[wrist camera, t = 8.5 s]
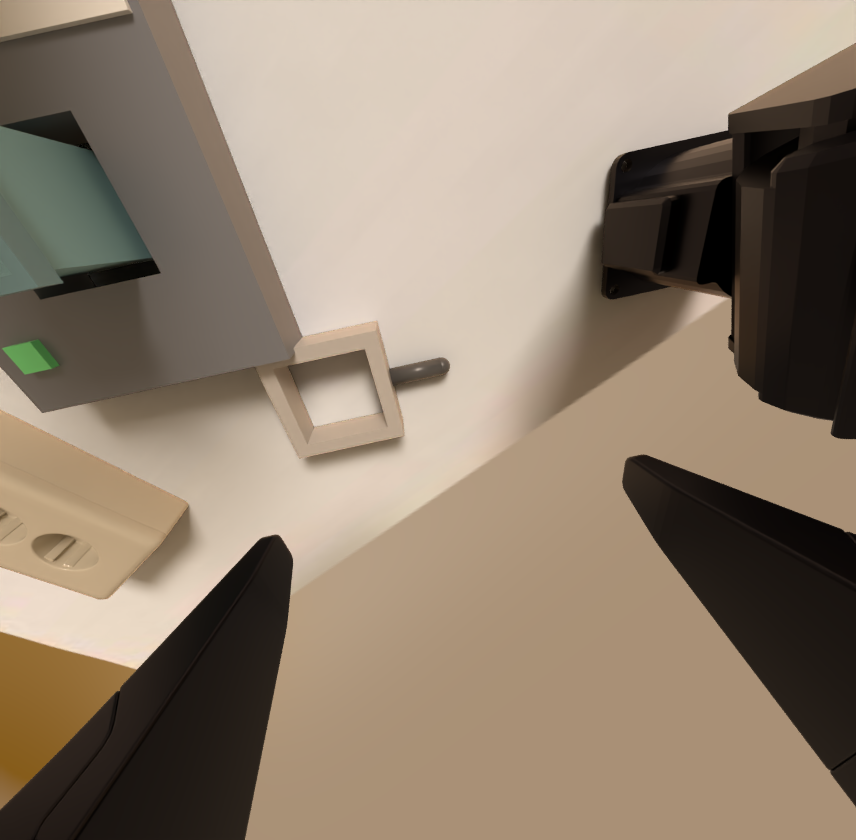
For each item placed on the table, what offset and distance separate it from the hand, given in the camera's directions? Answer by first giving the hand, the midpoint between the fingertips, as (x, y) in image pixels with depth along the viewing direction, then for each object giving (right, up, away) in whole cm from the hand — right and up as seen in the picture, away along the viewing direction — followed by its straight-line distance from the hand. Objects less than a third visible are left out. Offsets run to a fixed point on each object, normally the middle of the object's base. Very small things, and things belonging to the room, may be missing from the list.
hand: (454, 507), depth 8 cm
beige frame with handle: (-4, +5, +11) cm, 13 cm away
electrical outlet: (-26, 0, +12) cm, 29 cm away
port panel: (-15, +11, +6) cm, 20 cm away
